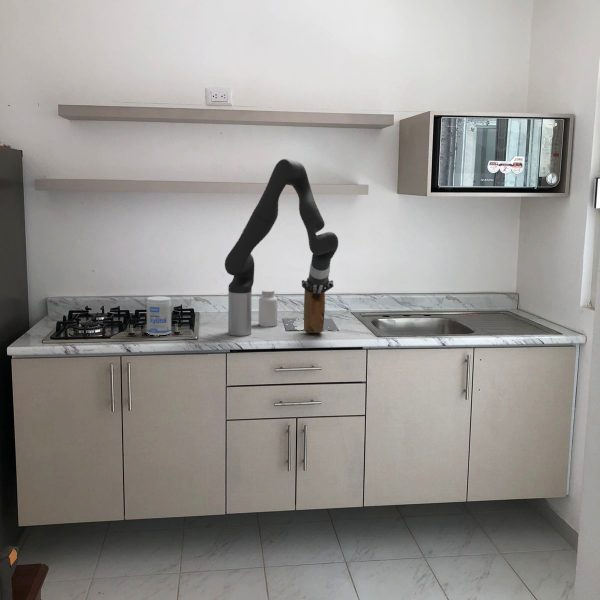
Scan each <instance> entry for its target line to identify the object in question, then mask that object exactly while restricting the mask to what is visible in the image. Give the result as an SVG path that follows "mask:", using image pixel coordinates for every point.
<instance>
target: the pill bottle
mask: <svg viewBox="0 0 600 600" xmlns="http://www.w3.org/2000/svg"><path fill="white" fill-rule="evenodd" d="M258 325H259V326H261V327H265V328H271V327H270V326H273V327H276V326H277V325H278V298H277V297H276V295H275V289H262V290H261V296H260V297H259V298H258Z"/></svg>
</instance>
